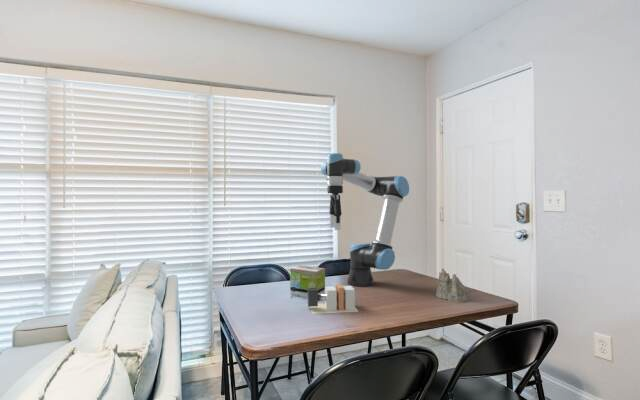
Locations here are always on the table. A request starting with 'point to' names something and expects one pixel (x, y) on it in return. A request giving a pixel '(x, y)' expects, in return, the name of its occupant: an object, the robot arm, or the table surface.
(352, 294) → the shaft housing
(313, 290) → the shaft
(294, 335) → the table surface
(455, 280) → the grey rock formation
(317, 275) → the tea box
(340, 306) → the block
